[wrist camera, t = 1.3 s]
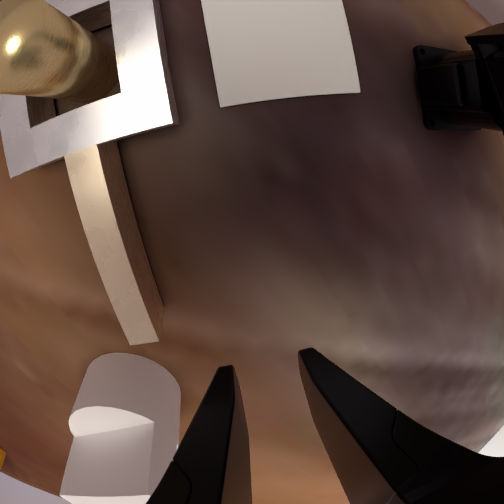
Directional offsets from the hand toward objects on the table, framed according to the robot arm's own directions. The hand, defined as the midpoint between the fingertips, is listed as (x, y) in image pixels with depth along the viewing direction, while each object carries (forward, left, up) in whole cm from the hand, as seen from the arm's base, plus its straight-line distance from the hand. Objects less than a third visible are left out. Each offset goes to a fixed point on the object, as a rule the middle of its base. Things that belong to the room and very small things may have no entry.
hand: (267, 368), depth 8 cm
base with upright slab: (+12, +13, -13) cm, 22 cm away
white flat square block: (-5, -12, -13) cm, 18 cm away
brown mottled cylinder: (+7, -12, -13) cm, 19 cm away
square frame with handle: (+7, -6, -13) cm, 16 cm away
